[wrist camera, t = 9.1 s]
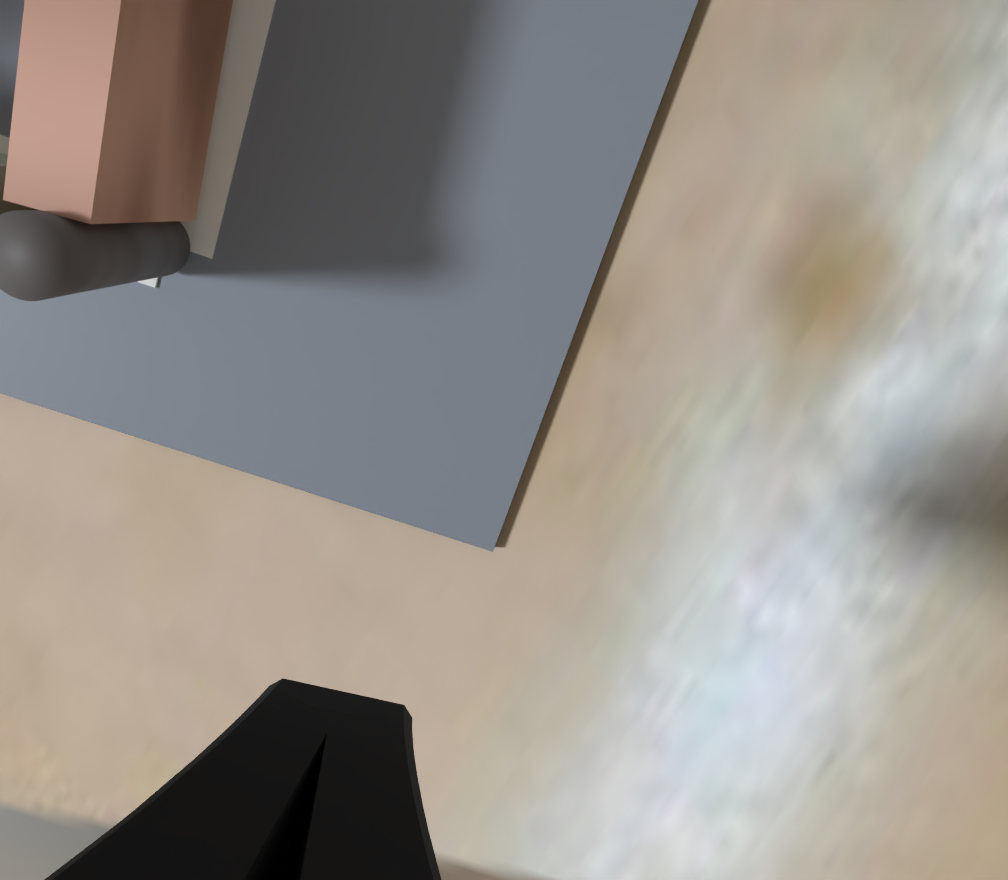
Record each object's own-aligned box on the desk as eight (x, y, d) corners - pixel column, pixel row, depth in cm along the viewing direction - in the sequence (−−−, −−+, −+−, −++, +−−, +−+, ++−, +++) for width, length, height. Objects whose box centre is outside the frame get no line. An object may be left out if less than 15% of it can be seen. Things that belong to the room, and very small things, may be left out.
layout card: (-378, 267, 16) (-391, 269, 16) (-320, -793, 12) (-338, -815, 12) (492, 548, 18) (493, 552, 17) (807, -299, 13) (813, -309, 13)
